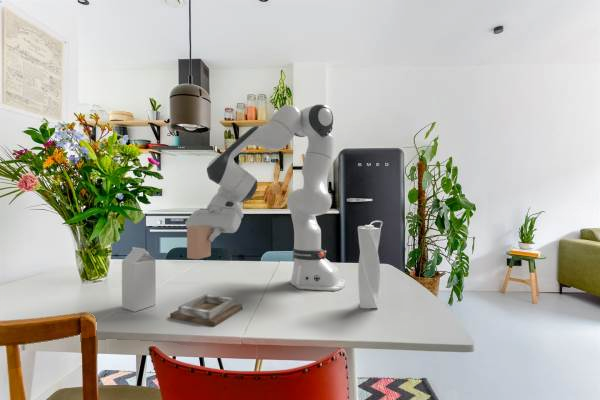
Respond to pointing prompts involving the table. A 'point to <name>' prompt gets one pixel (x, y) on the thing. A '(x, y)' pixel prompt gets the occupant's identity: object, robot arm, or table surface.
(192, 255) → the terracotta post
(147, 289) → the milk carton
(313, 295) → the table surface
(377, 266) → the skyscraper
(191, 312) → the walnut board
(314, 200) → the robot arm
